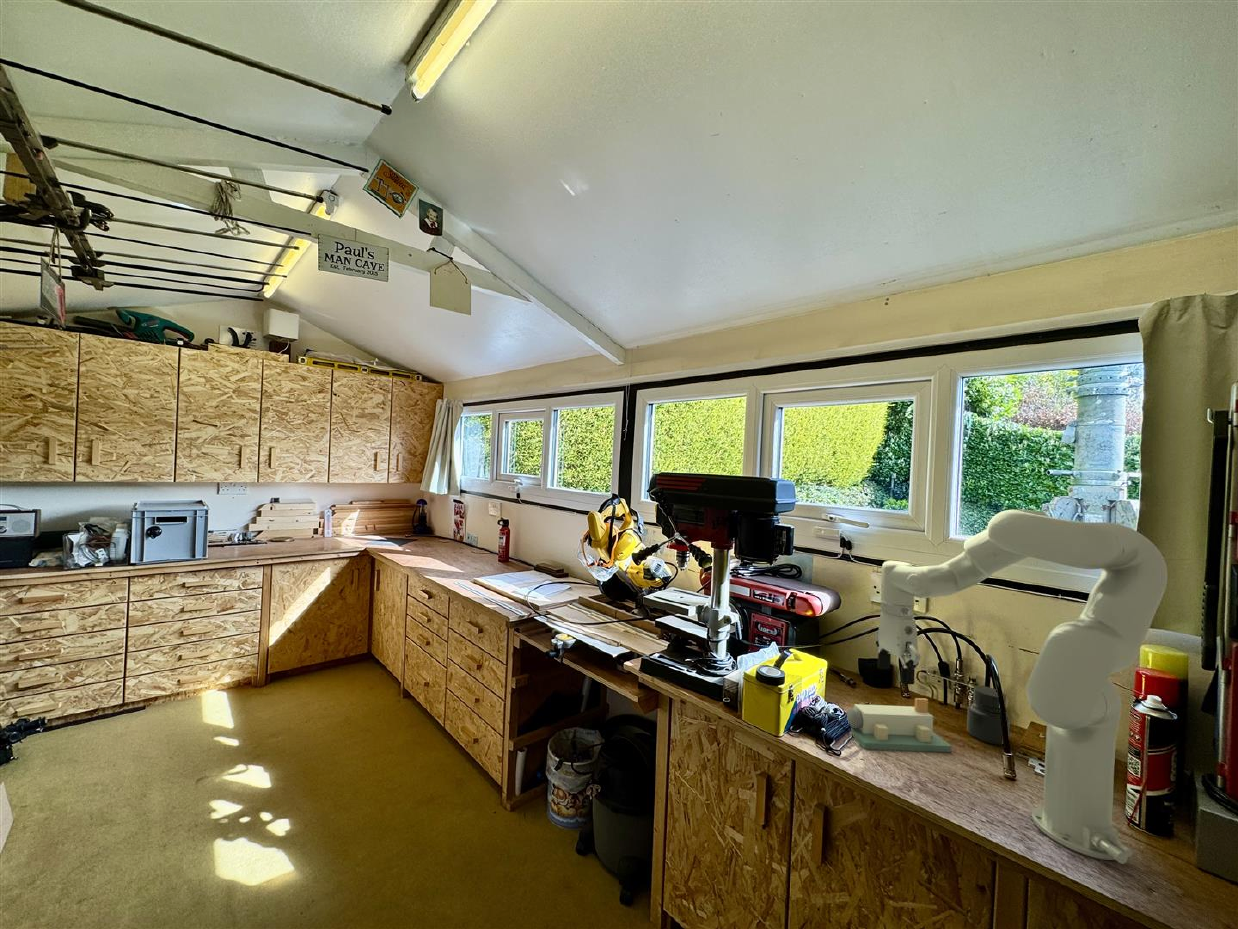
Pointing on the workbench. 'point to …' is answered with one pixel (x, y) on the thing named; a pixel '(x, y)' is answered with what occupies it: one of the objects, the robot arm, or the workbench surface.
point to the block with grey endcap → (891, 717)
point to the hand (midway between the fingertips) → (895, 676)
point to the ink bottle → (986, 716)
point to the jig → (901, 740)
